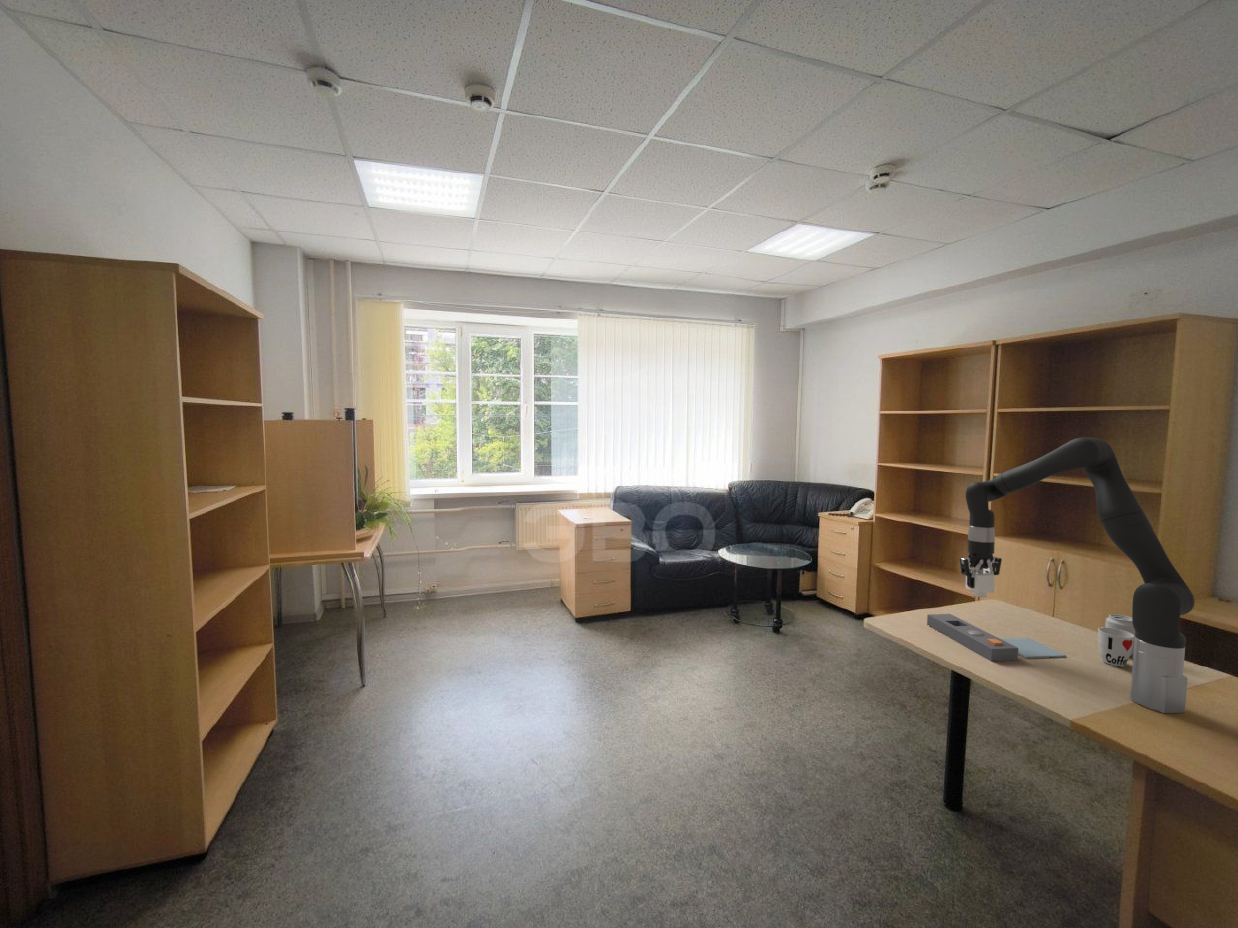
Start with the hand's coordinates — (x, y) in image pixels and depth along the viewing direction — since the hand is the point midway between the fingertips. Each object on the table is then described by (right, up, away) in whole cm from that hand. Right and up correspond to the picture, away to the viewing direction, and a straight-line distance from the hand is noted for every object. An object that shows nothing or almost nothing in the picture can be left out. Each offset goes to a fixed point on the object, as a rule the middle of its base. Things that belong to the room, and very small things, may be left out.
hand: (979, 587), depth 178 cm
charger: (0, -3, 0) cm, 3 cm away
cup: (+30, -20, -17) cm, 40 cm away
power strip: (-4, -19, -1) cm, 19 cm away
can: (+40, -20, -9) cm, 45 cm away
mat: (+11, -19, -6) cm, 23 cm away
